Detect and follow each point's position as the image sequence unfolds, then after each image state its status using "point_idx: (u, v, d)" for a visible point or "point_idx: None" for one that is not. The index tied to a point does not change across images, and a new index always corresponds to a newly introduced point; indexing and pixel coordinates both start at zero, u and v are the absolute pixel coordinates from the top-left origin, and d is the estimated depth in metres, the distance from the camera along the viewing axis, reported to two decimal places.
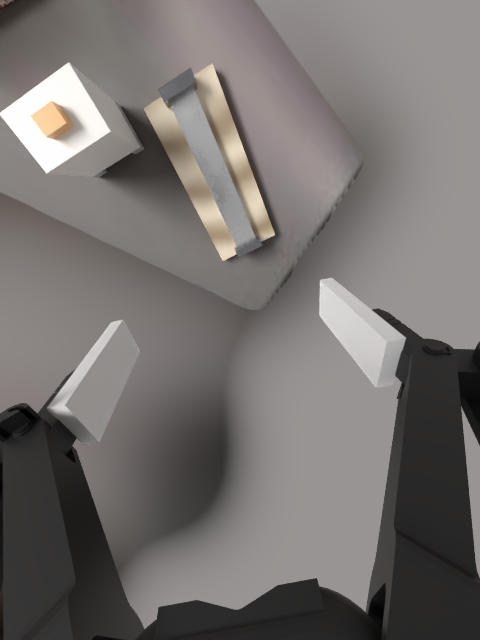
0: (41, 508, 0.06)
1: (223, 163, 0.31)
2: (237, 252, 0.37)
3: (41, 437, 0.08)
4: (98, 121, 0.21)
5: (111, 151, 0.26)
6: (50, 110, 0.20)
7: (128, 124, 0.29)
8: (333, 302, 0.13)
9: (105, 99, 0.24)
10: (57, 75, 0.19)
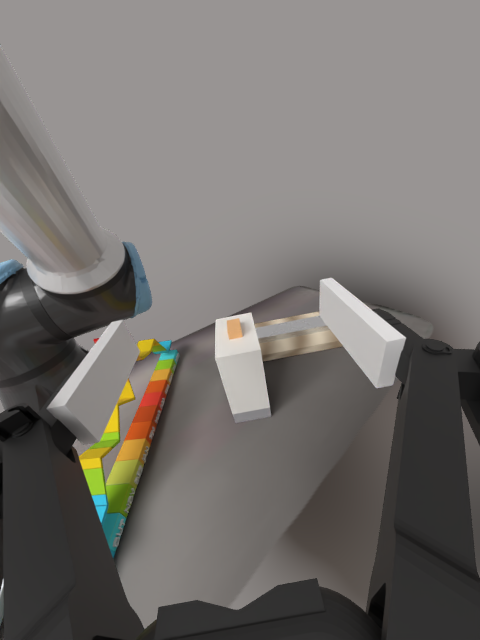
0: (41, 508, 0.06)
1: (284, 323, 0.43)
2: None
3: (41, 437, 0.08)
4: (244, 315, 0.30)
5: None
6: (230, 322, 0.27)
7: None
8: (333, 302, 0.13)
9: None
10: (217, 324, 0.29)
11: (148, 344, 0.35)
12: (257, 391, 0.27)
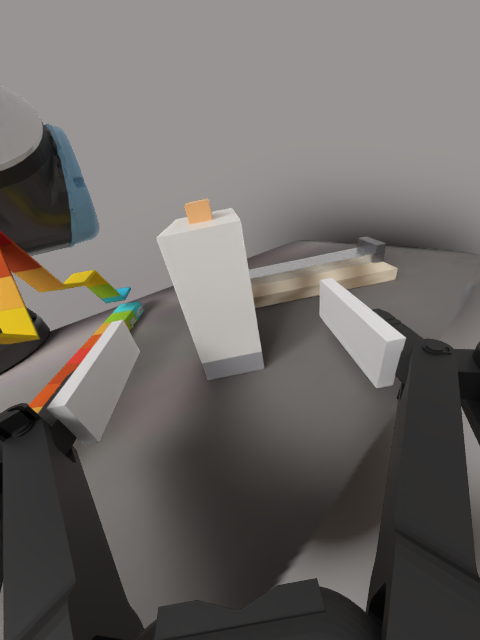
0: (41, 508, 0.06)
1: (282, 263, 0.32)
2: (378, 244, 0.29)
3: (41, 437, 0.08)
4: (220, 210, 0.19)
5: None
6: (192, 202, 0.16)
7: None
8: (333, 302, 0.13)
9: None
10: (176, 221, 0.18)
11: (84, 275, 0.24)
12: (240, 317, 0.16)
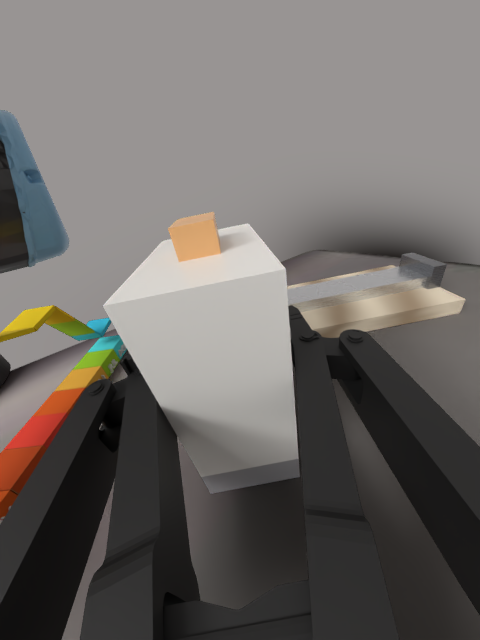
0: (144, 446, 0.07)
1: (305, 286, 0.25)
2: (436, 265, 0.22)
3: None
4: (231, 228, 0.12)
5: None
6: (186, 218, 0.09)
7: None
8: None
9: None
10: (161, 246, 0.12)
11: (37, 315, 0.17)
12: (267, 421, 0.09)
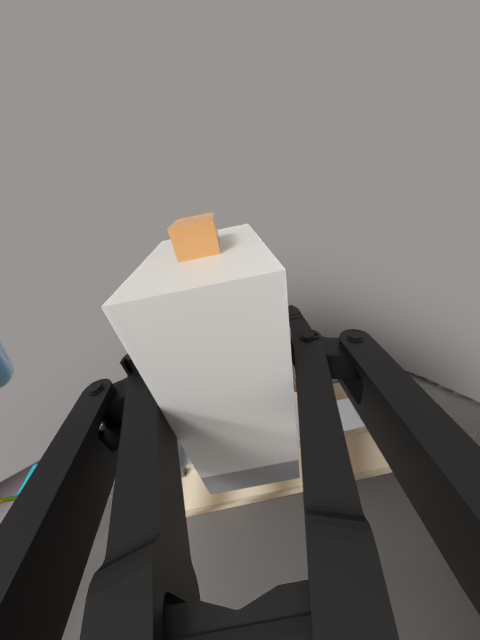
0: (144, 446, 0.07)
1: None
2: None
3: None
4: (230, 228, 0.12)
5: None
6: (185, 219, 0.09)
7: None
8: None
9: None
10: (160, 246, 0.11)
11: None
12: (267, 422, 0.09)
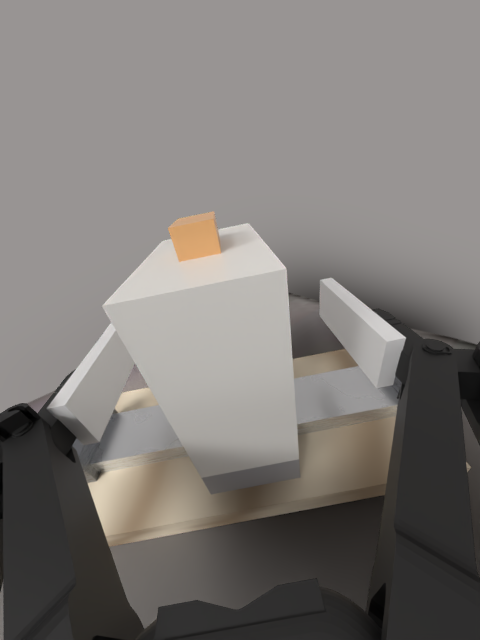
0: (41, 508, 0.06)
1: None
2: None
3: (41, 437, 0.08)
4: (231, 228, 0.12)
5: None
6: (186, 218, 0.09)
7: None
8: (333, 302, 0.13)
9: None
10: (161, 246, 0.11)
11: None
12: (268, 421, 0.09)
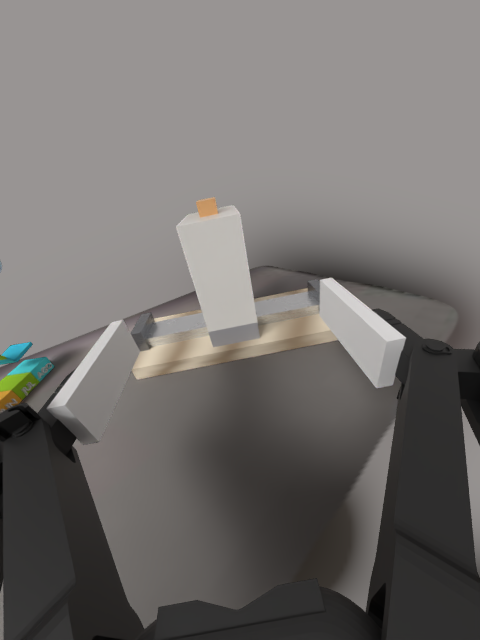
0: (41, 508, 0.06)
1: None
2: None
3: (41, 437, 0.08)
4: (223, 207, 0.23)
5: None
6: (202, 199, 0.20)
7: None
8: (333, 302, 0.13)
9: None
10: (187, 215, 0.23)
11: None
12: (239, 292, 0.20)
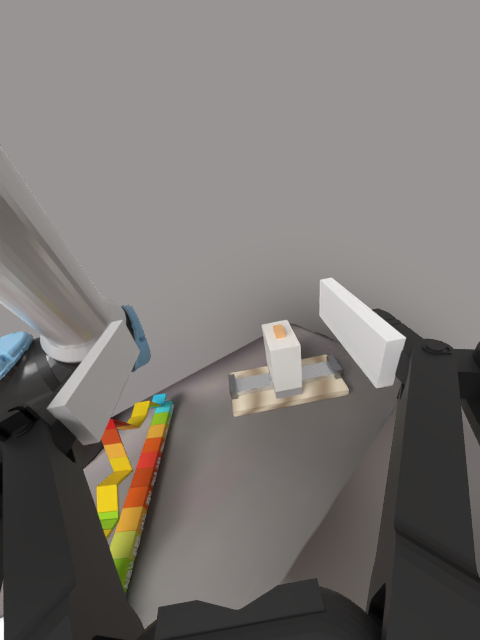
0: (41, 508, 0.06)
1: None
2: (337, 369, 0.43)
3: (41, 437, 0.08)
4: (282, 322, 0.42)
5: None
6: (275, 327, 0.39)
7: None
8: (333, 302, 0.13)
9: None
10: (263, 328, 0.42)
11: (144, 407, 0.38)
12: (295, 374, 0.39)
